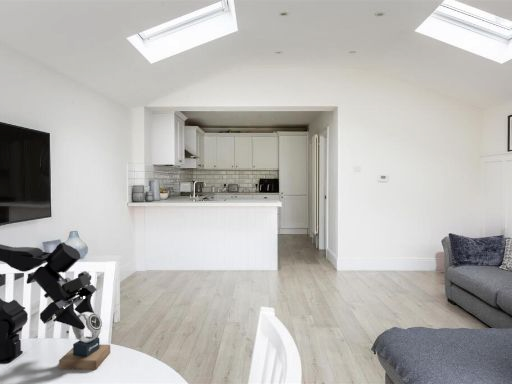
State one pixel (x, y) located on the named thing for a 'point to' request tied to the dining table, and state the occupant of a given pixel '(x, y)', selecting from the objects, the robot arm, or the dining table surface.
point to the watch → (86, 343)
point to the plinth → (84, 359)
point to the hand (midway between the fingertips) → (89, 324)
